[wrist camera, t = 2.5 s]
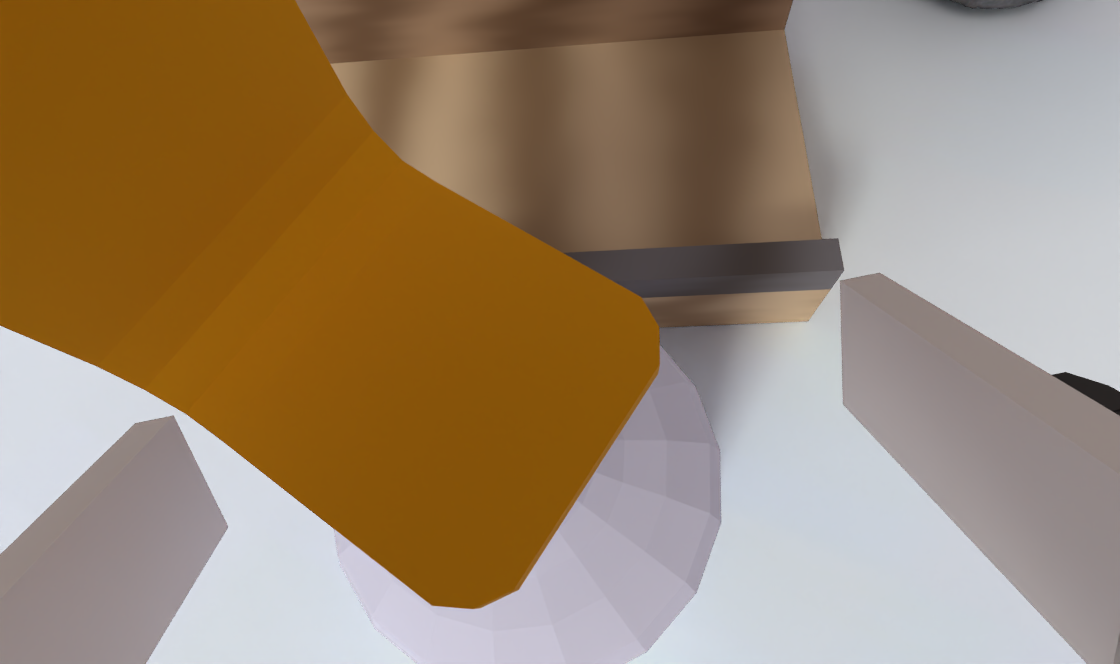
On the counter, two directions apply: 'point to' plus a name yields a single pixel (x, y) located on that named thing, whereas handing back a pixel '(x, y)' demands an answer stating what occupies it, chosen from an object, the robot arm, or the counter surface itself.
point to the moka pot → (994, 3)
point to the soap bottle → (351, 329)
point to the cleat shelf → (607, 136)
